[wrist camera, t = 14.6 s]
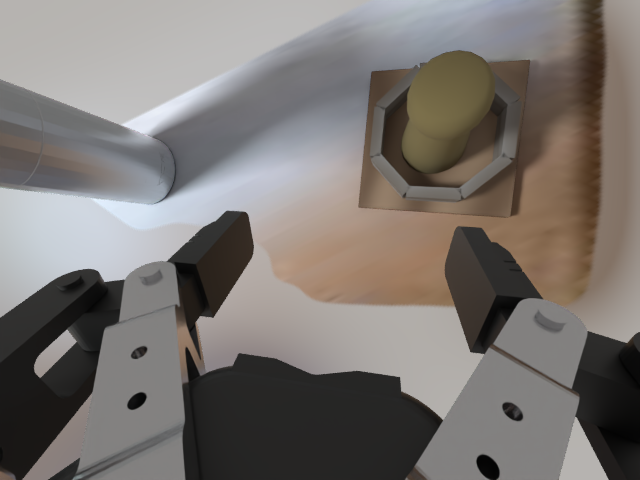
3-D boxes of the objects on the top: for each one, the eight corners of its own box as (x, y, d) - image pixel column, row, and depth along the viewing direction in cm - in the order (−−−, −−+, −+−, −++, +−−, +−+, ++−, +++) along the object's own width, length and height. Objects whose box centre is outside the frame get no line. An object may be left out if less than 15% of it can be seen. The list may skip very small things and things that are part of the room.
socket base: (359, 207, 30) (354, 204, 27) (372, 76, 29) (368, 56, 26) (506, 217, 26) (521, 215, 23) (525, 66, 25) (544, 40, 22)
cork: (433, 98, 27) (455, 9, 16) (481, 139, 25) (538, 72, 15) (387, 146, 28) (379, 93, 17) (431, 186, 27) (451, 156, 16)
